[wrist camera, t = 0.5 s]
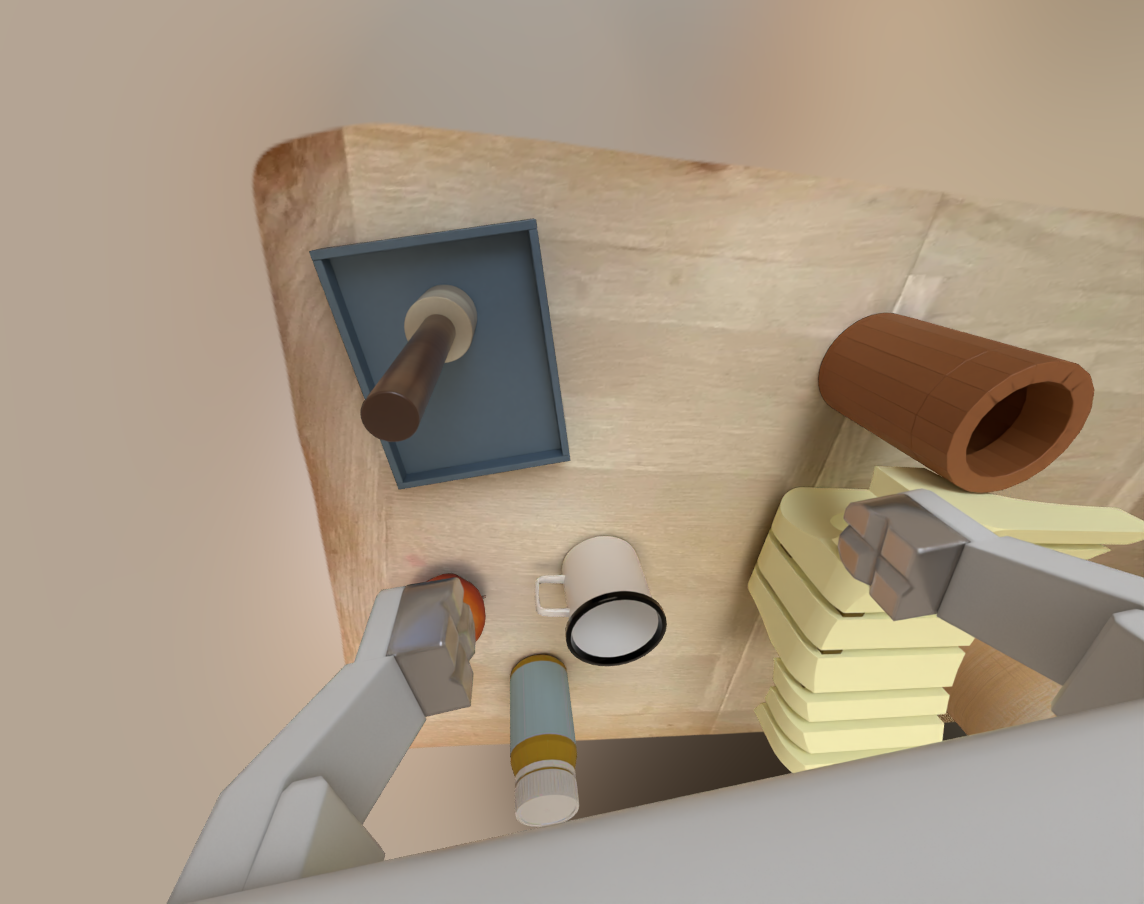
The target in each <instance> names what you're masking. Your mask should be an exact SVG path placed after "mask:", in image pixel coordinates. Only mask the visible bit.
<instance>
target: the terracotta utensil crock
mask: <svg viewBox="0 0 1144 904" xmlns="http://www.w3.org/2000/svg"><path fill="white" fill-rule="evenodd" d="M819 389H820V392H821V395H822V397H823V399H824V401H825V402H826V403H827V404H828V405H829V406H830V407H832V408H833V409H835V410H836V411H838V412H840V413H841V414H843V415H844V416H846V417H848V418H849V419H851V420H852V421H854V422H856V423H857V424H859V425H860V426H862V427H864V428H865V429H867V430H868V431H870V432H872V433H873V434H875V435H876V436H878V437H880V438H881V439H883V440H884V441H886V442H888V443H889V444H891V445H892V446H894V447H896V448H897V449H899V450H900V451H902V452H904V453H905V454H907V455H908V456H910V457H912V458H913V459H915V460H916V461H918V462H920V463H921V464H923V465H924V466H926V467H928V468H929V469H931V470H933V471H934V472H936V473H937V474H939V475H941V476H942V477H944V478H945V479H947V480H949V481H950V482H952V483H953V484H955V485H957V486H958V487H960V488H962V489H963V490H965V491H968V492H977V493H988V492H994V491H999V490H1003V489H1007V488H1009V487H1012V486H1014V485H1016V484H1019V483H1021V482H1024V481H1026V480H1028V479H1029V478H1031V477H1032V476H1034V475H1036V474H1037V473H1039V472H1040V471H1042V470H1043V469H1045V468H1046V467H1047V466H1048V465H1050V464H1051V463H1052V462H1053V461H1054V460H1055V459H1056V458H1057V457H1059V456H1060V455H1061V454H1062V453H1063V452H1064V451H1065V450H1066V449H1067V448H1068V446H1069V445H1070V444H1071V443H1072V441H1073V440H1074V439H1075V438H1076V436H1077V435H1078V434H1079V432H1080V430H1082V428H1083V426H1084V424H1085V422H1086V420H1087V418H1088V416H1089V413H1090V411H1091V408H1092V402H1093V396H1094V387H1093V383H1092V379H1091V376H1090V374H1089V373H1088V372H1087V371H1085V370H1084V369H1083V368H1082V367H1081V366H1080V365H1079V364H1076V363H1073V362H1069V361H1066V360H1062V359H1058V358H1055V357H1051V356H1047V355H1044V354H1040V353H1037V352H1033V351H1029V350H1026V349H1022V348H1019V347H1015V346H1011V345H1008V344H1004V343H1001V342H997V341H993V340H990V339H986V338H983V337H979V336H975V335H972V334H968V333H965V332H961V331H957V330H954V329H950V328H946V327H943V326H939V325H936V324H932V323H928V322H925V321H921V320H918V319H914V318H910V317H907V316H902V315H898V314H894V313H879V314H875V315H871V316H868V317H865V318H863V319H861V320H859V321H857V322H856V323H854V324H853V325H851V326H850V327H849V328H847V329H846V330H845V331H844V332H843V333H842V334H840V335H839V337H838V338H837V339H836V340H835V341H834V342H833V344H832V345H831V346H830V348H829V350H828V351H827V353H826V355H825V357H824V359H823V361H822V364H821V367H820V372H819Z"/></svg>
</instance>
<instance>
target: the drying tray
mask: <svg viewBox="0 0 1144 904" xmlns="http://www.w3.org/2000/svg"><path fill="white" fill-rule="evenodd" d="M309 253H310V256H311V258H312V260H313V263H314V266H315V269H316V271H317V274H318V277H319V279H320V282H321V285H322V287H323V290H324V292H325V295H326V298H327V300H328V303H329V306H330V308H331V311H332V314H333V316H334V319H335V322H336V324H337V327H338V330H339V332H340V335H341V338H342V340H343V343H344V345H345V348H346V351H347V353H348V356H349V359H350V361H351V364H352V367H353V369H354V372H355V375H356V377H357V380H358V383H359V385H360V388H361V390H362V393H363V396H364V398H365V399H366V398H367V397H368V395H369V394H370V393H371V391H372V390H373V388H374V387H375V386H376V384H377V383H378V382H379V380H380V379H381V378H382V376H383V375H384V374H385V372H386V371H387V370H388V368H389V367H390V366H391V364H392V363H393V362H394V360H395V359H396V358H397V356H398V355H399V353H400V352H401V351H402V349H403V348H404V347H405V345H406V344H407V343H408V340H407V338H406V335H405V330H404V322H405V317H406V314H407V312H408V310H409V309H410V307H411V306H412V305H413V304H414V303H415V302H416V301H417V300H418V299H419V298H420V297H421V296H422V295H423V294H424V293H425V292H426V291H427V290H428V289H430V288H432V287H434V286H437V285H452V286H455V287H457V288H459V289H461V290H463V291H464V292H465V293H466V294H467V295H468V296H469V297H470V298H471V299H472V301H473V303H474V305H475V307H476V311H477V323H476V327H475V331H474V335H473V338H472V342H471V345H470V347H469V349H468V350H467V352H466V353H465V354H464V355H463V356H462V357H460V358H459V359H457V360H455V361H452V362H448V363H444V366H443V368H442V370H441V373H440V375H439V378H438V380H437V383H436V385H435V388H434V390H433V392H432V395H431V397H430V400H429V402H428V405H427V407H426V409H425V412H424V414H423V417H422V419H421V422H420V424H419V427H418V429H417V431H416V432H415V433H414V434H413V435H412V436H411V437H410V438H408V439H406V440H403V441H399V442H388V441H384V440H381V439H380V441H381V443H382V446H383V449H384V451H385V454H386V457H387V459H388V462H389V465H390V467H391V470H392V473H393V475H394V478H395V481H396V483H397V486H398V489H405V488H411V487H417V486H423V485H429V484H435V483H441V482H447V481H453V480H459V479H465V478H471V477H476V476H482V475H488V474H494V473H500V472H506V471H512V470H518V469H524V468H530V467H536V466H542V465H548V464H554V463H560V462H565V461H570V455H569V447H568V440H567V433H566V426H565V419H564V412H563V405H562V398H561V391H560V384H559V377H558V370H557V363H556V356H555V349H554V342H553V335H552V328H551V321H550V314H549V307H548V300H547V293H546V286H545V280H544V273H543V266H542V259H541V252H540V245H539V238H538V231H537V224H536V219H527V220H520V221H513V222H505V223H498V224H491V225H484V226H477V227H470V228H463V229H456V230H449V231H442V232H435V233H428V234H421V235H413V236H406V237H399V238H392V239H385V240H378V241H371V242H364V243H357V244H350V245H343V246H336V247H329V248H322V249H317V250H312V251H309Z"/></svg>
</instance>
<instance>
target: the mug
mask: <svg viewBox="0 0 1144 904" xmlns="http://www.w3.org/2000/svg"><path fill="white" fill-rule="evenodd" d="M541 583H560V584H564V590H565V597H566V604H567V608H559V609H544V608H542V607H541V606H540V600H539V584H541ZM535 605H536V611H537V613H538V614H540V615H542V616H549V617H569V620H568V622H567V625H566V628H565V638H566V642H567V646H568V648H569V650H570V651H571V653H572V654H573V655H574V656H575V657H576V658H578V659H580V660H582V661H583V662H586V663H589V664H592V665H598V666H616V665H622V664H626V663H629V662H632V661H635V660H637V659H639V658H641V657H643V656H645V655H646V654H648V653H649V652H650V651H652V650H653V649H654V648H655V647H656V646H657V645H658V644H659V642H660V641H661V640H662V638H663V636H664V634H665V631H666V626H667V623H666V616H665V613H664V611H663V608H662V607H661V606H660V604H659V603H658V602H657V601H656V600H654V599H653V598H652V595H651V592H650V590H649V587H648V584H647V581H646V579H645V576H644V573H643V570H642V568H641V565H640V562H639V559H638V557H637V554H636V552H635V550H634V548H633V547H632V546H631V545H630V544H629V543H627V542H626V541H624V540H622V539H620V538H616V537H611V536H598V537H594V538H590V539H587V540H585V541H582V542H581V543H579V544H577V545H576V546H575V547H573V548H572V549H571V550H570V551H569V552H568V554H567V555H566V557H565V559H564V561H563V564H562V575H548V576H540V577H539V578H537V580H536V582H535Z"/></svg>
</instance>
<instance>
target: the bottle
mask: <svg viewBox="0 0 1144 904" xmlns="http://www.w3.org/2000/svg"><path fill="white" fill-rule="evenodd" d="M510 757H511V766H512V770H513V773H514V775H515V814H516V818H517V819H518V821H519V822H521V823H522V824H525V825H528V826H533V827H544V826H548V825H553V824H558V823H562V822H564V821H566V820H568V819H570V818H571V817H573V816H574V815H575V814H576V812H577V811H578V808H579V799H578V791H577V783H576V775H575V764H576V758H577V751H576V741H575V733H574V725H573V717H572V709H571V701H570V693H569V685H568V677H567V671H566V667H565V665H564V664H563V663H562V662H561V661H559V660H558V659H556V658H555V657H553V656H550V655H542V654H539V655H532V656H530V657H527V658H525V659H523V660H522V661H520V662H519V663H518V664H517V665H516V666H515V667H514V669H513V670H512V672H511V675H510Z"/></svg>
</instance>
